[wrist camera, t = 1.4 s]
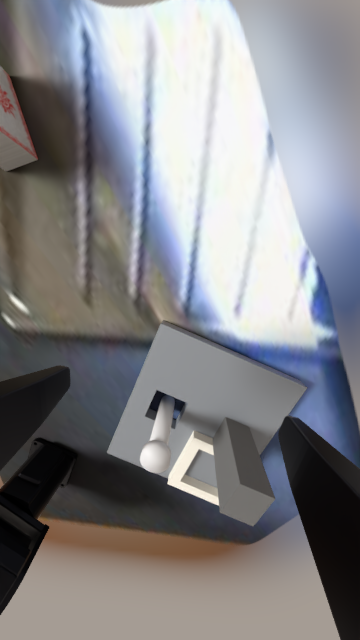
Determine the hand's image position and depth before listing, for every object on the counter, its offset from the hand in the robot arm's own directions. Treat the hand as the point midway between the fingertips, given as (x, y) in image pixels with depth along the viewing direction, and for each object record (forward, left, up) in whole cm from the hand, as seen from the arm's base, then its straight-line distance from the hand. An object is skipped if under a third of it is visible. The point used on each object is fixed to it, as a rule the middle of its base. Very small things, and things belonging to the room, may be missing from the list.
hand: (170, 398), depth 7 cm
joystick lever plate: (-14, -10, -12) cm, 21 cm away
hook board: (-10, -6, -13) cm, 18 cm away
